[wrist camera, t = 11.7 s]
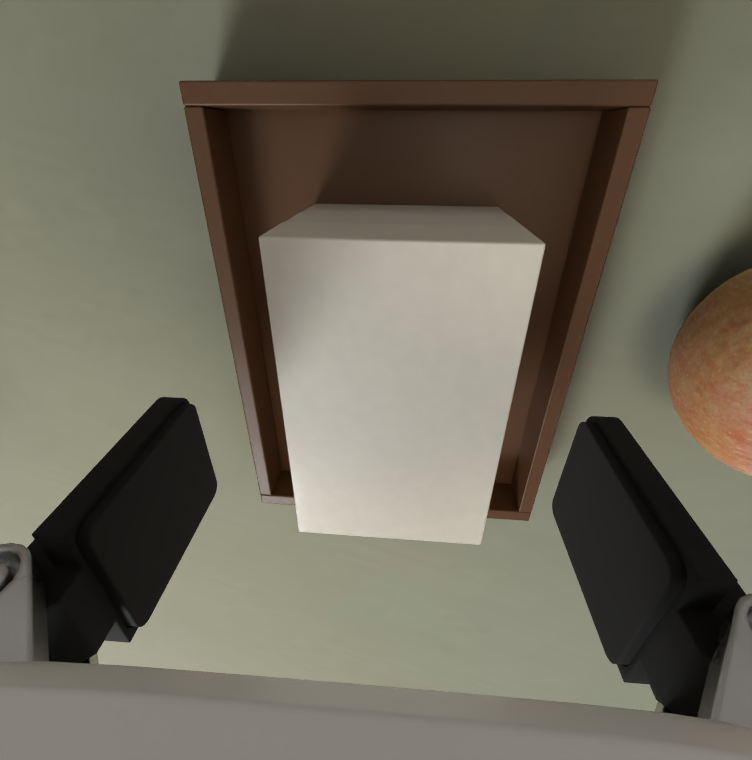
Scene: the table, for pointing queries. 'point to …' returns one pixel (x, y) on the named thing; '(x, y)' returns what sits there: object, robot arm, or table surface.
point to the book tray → (419, 187)
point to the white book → (397, 369)
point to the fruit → (717, 373)
